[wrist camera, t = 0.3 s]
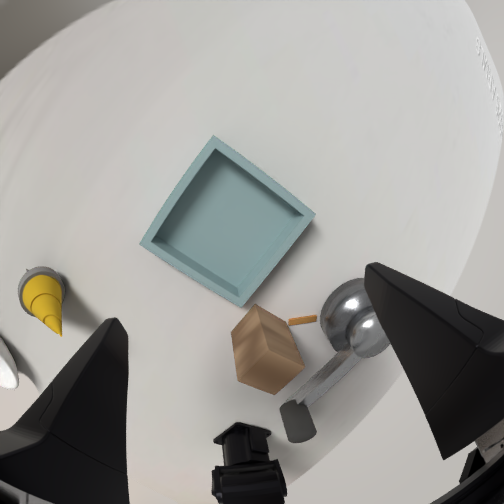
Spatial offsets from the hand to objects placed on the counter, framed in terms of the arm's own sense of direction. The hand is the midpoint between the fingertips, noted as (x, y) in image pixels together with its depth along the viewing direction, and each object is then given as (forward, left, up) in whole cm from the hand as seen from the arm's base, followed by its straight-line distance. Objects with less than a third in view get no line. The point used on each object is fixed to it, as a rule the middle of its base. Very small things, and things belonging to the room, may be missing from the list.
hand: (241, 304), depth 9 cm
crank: (-6, -17, -11) cm, 22 cm away
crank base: (-1, -16, -15) cm, 22 cm away
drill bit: (-15, +11, -15) cm, 24 cm away
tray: (0, 0, -15) cm, 15 cm away
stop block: (-7, -9, -15) cm, 19 cm away
